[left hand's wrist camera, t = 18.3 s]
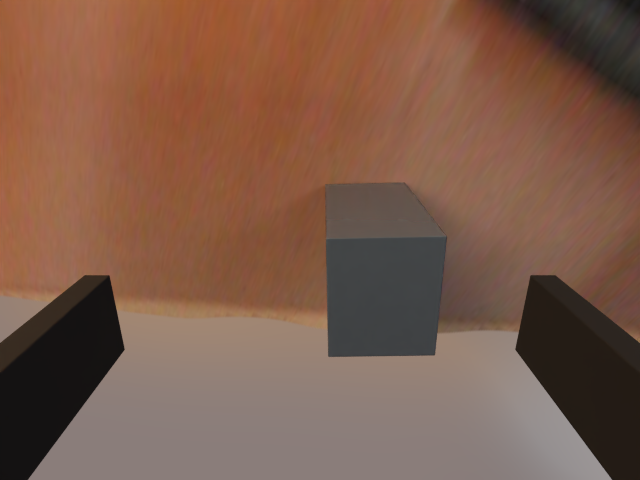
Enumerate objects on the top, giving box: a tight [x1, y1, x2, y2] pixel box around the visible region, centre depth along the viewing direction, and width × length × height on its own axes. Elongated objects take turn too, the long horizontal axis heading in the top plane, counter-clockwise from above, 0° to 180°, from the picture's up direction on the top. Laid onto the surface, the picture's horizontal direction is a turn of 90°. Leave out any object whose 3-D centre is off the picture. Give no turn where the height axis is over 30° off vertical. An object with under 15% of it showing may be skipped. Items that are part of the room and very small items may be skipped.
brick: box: [325, 183, 447, 357], centre depth 26 cm, size 6×7×11 cm
